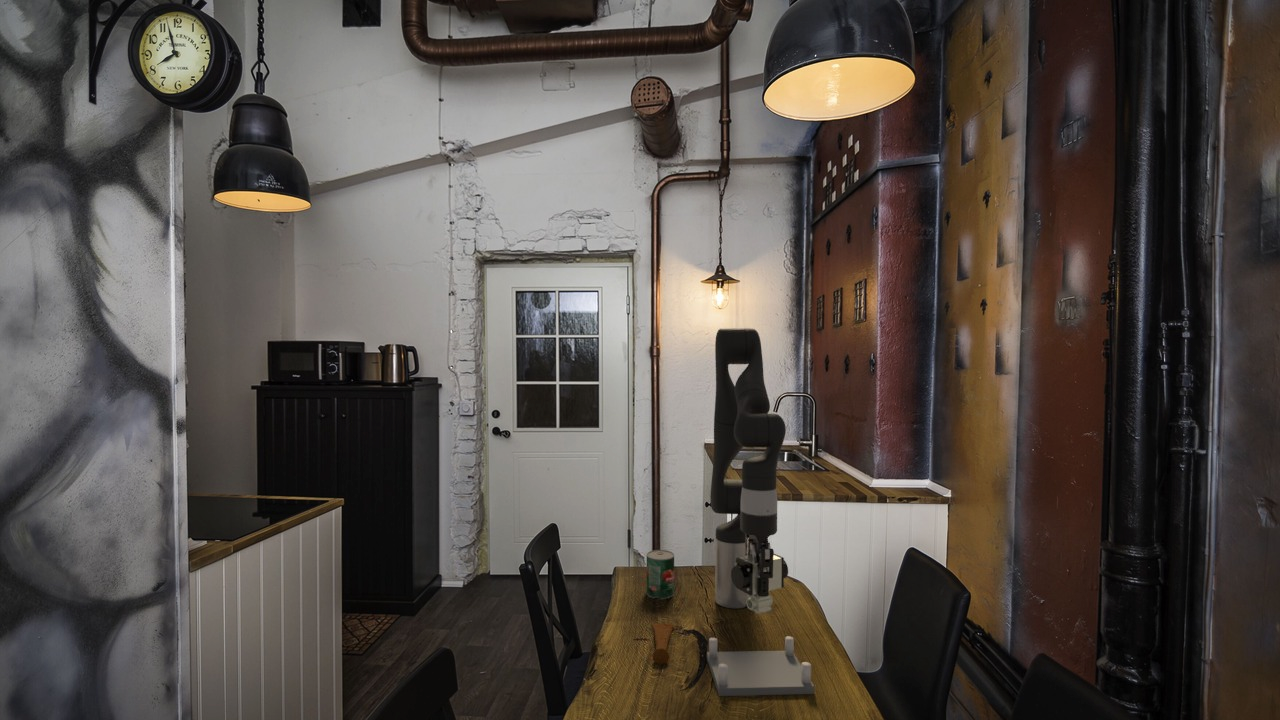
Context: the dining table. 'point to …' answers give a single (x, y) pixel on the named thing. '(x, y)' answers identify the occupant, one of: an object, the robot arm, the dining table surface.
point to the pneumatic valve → (748, 581)
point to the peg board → (759, 671)
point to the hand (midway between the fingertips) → (758, 588)
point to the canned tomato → (660, 574)
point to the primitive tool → (662, 641)
